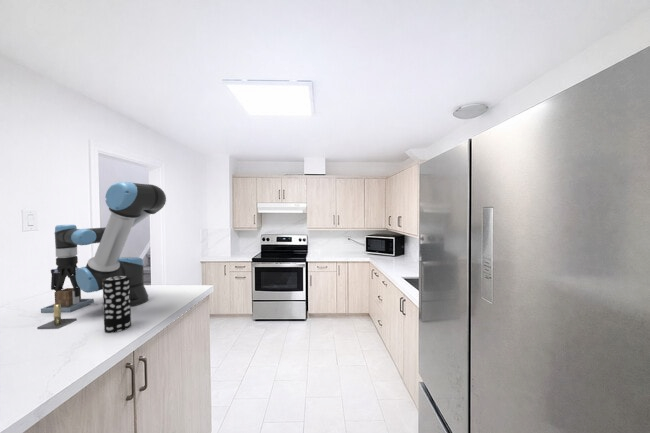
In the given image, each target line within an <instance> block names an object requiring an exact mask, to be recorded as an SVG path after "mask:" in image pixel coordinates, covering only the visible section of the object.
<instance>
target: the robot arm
mask: <svg viewBox="0 0 650 433" xmlns="http://www.w3.org/2000/svg"><path fill="white" fill-rule="evenodd" d="M166 196H167V195H166V193H165V191H164V190H163V189H162V188H161V187H159V186H158V185H154V184H146V183H138V182H137V183H136V182H130V181H124V182H123V181H118V182H115V183H113V184H112V185H110V186H109V188H107V190H106V193H105V199H106V200H105V204H106V206H107V207H108V211H109V212H110V213H111V214H110V215H109V219H108V221H107V223H106V226H105V227H94V228H93V227H92V228H78V227H77V225H75V224H58V225H55V226H54V233H53V234H54V242H55V246H54V247H55V265H56V266H57V267H56V268H53V269H50V274H51V277H50V278H51V279H50V280H51V281H50V290H51V291H53V290H54V292H56V291H60V290H63V289H65V288H64V284H65V281H66V278H68V279H69V280H70V283H71V286H72V288H73V289H74V290H73V291H72V297H73V304H76V303H79V296H80V289H81V292H82V291H83V293H87V294H88V293H94V292H100V291H103V279H105V278H109V277H114V276H124V275H125V276H129V277H130V307H135V306H137V305H141V304H144V303H146V302H147V301H149V294H148V291H147V290H146V287H145V281H144V280H145V279H144V276H145V275H144V267H145V266H144V260H143V259H142V258H141V257H133V256H132V257H131V256H129V257H127V256H125V257H121V254H122V251H123V249H124V247H125V245H126V242H127V240H128V237H129V235H130V233H131V229H132V228H133V227H135V226H137V225H138V224H140V223H141V221H144V219H146V218H147V217H149V216H151V215H155V214H156V213H158V212H160V211H161V210H162V209H163V208H164V207H165V205H166V202H167V197H166ZM91 244H98V246H97V249H96V252H95V254H94V256H93V257H91V258H89V259H88V260H87V263H86V266H81V267H78V266H77V264H78V263H79V261H78V260H79V259H78V256H77V255H78V246H88V245H91Z"/></svg>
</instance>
